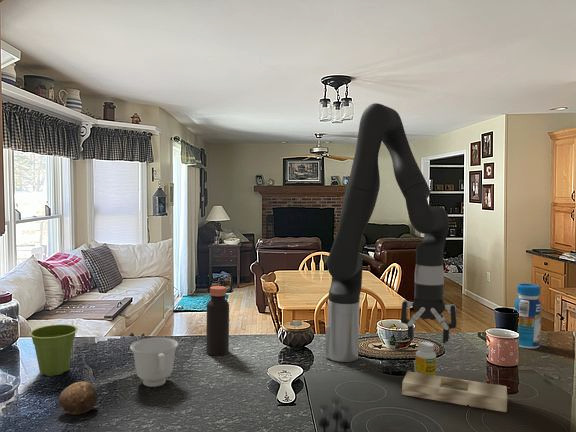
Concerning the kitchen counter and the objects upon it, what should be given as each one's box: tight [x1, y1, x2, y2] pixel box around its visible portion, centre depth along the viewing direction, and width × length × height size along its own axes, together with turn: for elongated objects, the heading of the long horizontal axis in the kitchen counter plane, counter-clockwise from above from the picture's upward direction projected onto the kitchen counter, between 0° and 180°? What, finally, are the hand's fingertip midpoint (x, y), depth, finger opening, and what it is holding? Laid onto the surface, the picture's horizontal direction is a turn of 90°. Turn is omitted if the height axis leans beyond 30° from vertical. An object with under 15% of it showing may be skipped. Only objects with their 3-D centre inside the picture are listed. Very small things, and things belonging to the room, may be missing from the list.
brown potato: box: [58, 381, 99, 415], centre depth 116 cm, size 8×8×6 cm
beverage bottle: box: [513, 282, 543, 350], centre depth 168 cm, size 8×8×20 cm
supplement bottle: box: [414, 341, 437, 375], centre depth 138 cm, size 5×5×10 cm
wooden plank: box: [401, 370, 508, 413], centre depth 127 cm, size 24×8×3 cm, turn 68°
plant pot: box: [28, 324, 78, 377], centre depth 138 cm, size 12×12×11 cm
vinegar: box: [205, 285, 230, 357], centre depth 155 cm, size 7×7×20 cm
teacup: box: [129, 337, 179, 388], centre depth 131 cm, size 12×15×10 cm
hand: (428, 340), depth 137 cm, fingers open, 8 cm apart
